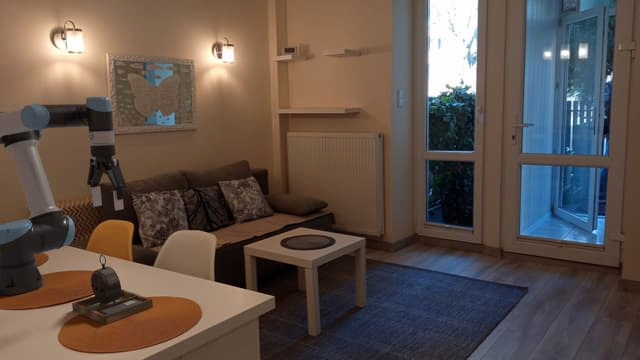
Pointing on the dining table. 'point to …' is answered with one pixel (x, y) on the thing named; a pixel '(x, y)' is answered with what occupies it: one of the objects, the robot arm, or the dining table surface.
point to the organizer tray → (93, 310)
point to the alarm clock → (105, 284)
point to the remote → (120, 306)
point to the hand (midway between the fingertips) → (108, 207)
